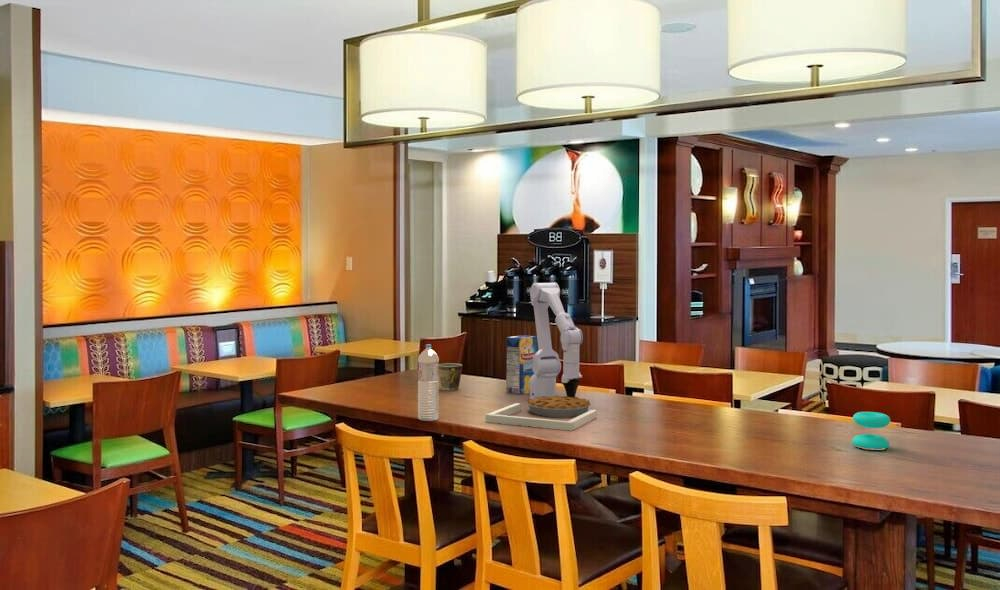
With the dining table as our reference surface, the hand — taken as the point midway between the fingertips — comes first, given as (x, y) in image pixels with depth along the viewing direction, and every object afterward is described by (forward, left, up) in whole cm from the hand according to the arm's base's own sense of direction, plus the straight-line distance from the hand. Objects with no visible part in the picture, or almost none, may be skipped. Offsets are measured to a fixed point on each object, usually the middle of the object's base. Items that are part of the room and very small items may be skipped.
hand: (570, 400), depth 323 cm
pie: (0, -12, -3) cm, 12 cm away
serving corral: (0, -27, -2) cm, 27 cm away
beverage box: (-29, +22, -3) cm, 37 cm away
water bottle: (-34, -44, -3) cm, 56 cm away
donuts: (+101, -22, -3) cm, 104 cm away
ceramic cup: (-56, +13, -3) cm, 58 cm away
